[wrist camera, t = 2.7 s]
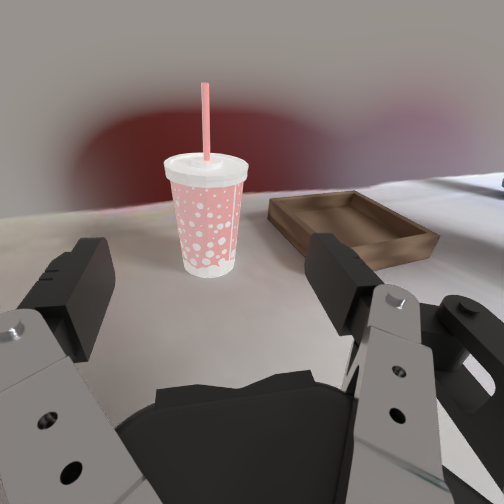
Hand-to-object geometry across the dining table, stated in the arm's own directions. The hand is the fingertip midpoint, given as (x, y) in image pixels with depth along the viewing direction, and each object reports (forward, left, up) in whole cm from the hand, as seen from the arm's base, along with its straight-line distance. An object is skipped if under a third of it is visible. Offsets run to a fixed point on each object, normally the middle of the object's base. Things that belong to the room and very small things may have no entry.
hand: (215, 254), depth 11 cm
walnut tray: (-21, +2, -8) cm, 23 cm away
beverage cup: (-9, -7, -9) cm, 14 cm away
